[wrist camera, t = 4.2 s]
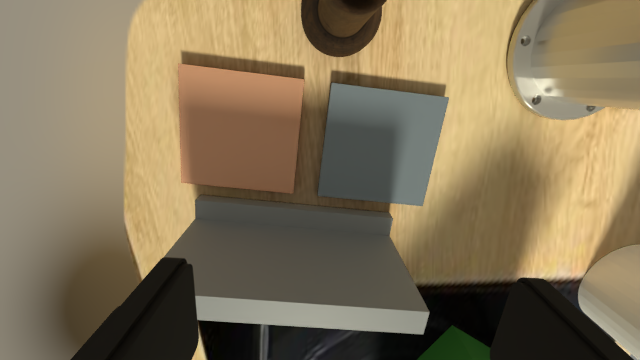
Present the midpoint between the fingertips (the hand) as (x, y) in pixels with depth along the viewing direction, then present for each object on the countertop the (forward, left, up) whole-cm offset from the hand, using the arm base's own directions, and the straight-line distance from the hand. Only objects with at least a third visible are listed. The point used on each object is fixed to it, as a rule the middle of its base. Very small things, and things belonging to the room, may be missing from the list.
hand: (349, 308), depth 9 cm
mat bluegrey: (-6, -1, -22) cm, 23 cm away
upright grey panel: (+2, +9, -22) cm, 24 cm away
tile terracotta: (+8, -1, -22) cm, 24 cm away
